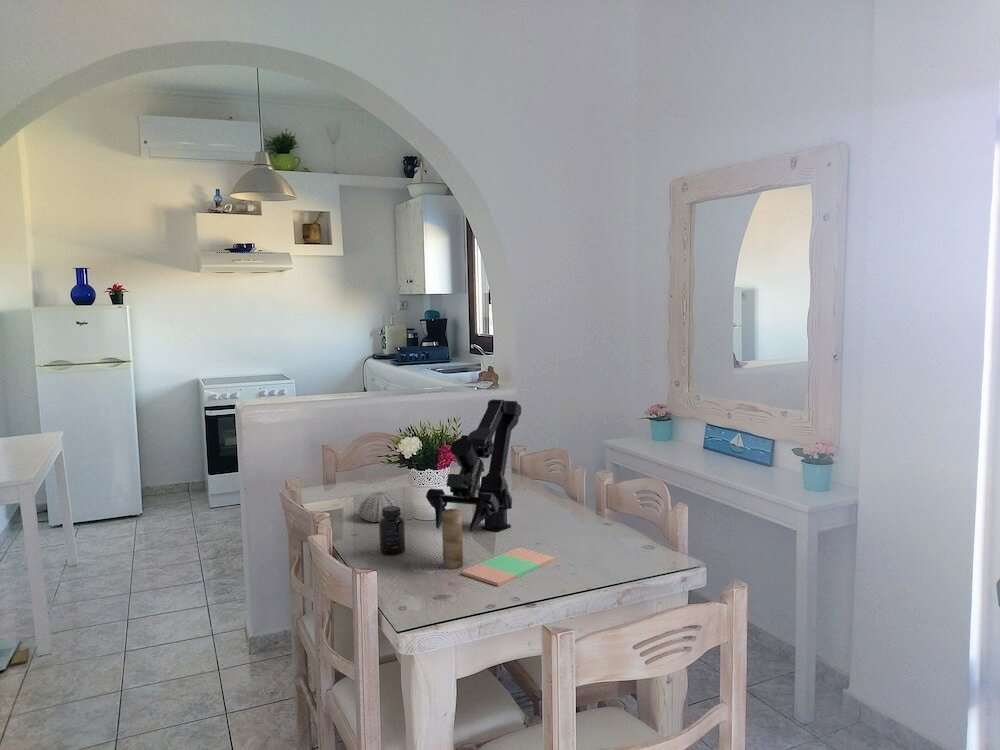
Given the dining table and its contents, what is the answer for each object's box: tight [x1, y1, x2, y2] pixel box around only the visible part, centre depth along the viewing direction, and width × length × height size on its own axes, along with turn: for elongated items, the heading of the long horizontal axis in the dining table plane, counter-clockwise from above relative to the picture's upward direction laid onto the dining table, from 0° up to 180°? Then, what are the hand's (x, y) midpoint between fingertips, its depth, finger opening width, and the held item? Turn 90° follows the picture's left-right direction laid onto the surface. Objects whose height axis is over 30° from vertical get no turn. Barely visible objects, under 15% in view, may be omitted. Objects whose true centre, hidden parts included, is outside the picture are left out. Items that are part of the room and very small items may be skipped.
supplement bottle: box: [378, 506, 406, 557], centre depth 195 cm, size 7×7×12 cm
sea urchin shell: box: [358, 491, 402, 523], centre depth 227 cm, size 13×14×8 cm
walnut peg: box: [441, 508, 464, 570], centre depth 184 cm, size 5×5×14 cm
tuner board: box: [461, 547, 556, 587], centre depth 183 cm, size 22×12×1 cm, turn 139°
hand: (453, 529), depth 185 cm, fingers open, 9 cm apart
